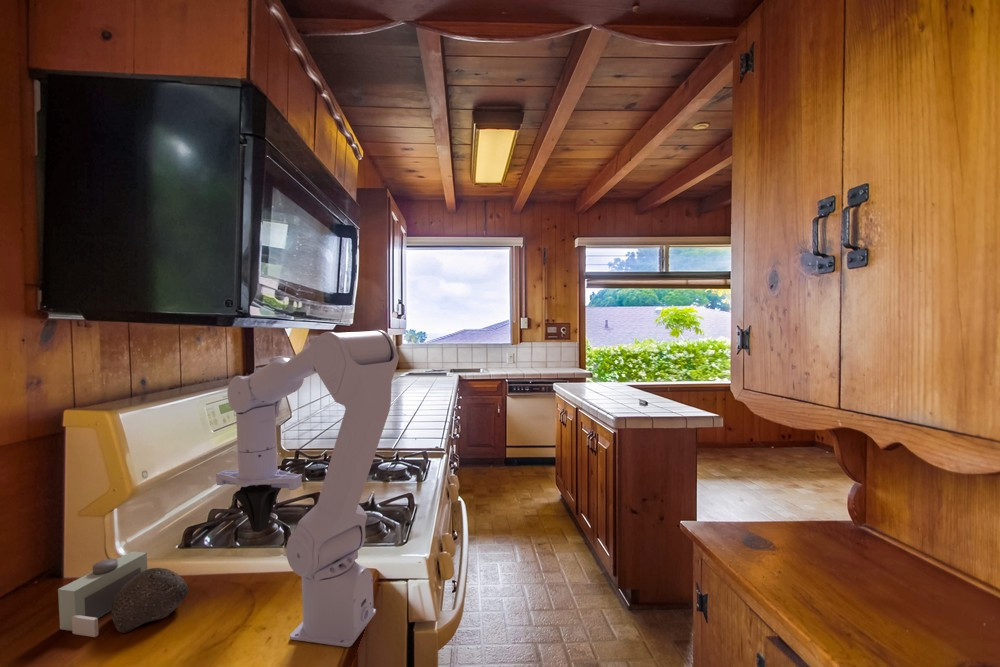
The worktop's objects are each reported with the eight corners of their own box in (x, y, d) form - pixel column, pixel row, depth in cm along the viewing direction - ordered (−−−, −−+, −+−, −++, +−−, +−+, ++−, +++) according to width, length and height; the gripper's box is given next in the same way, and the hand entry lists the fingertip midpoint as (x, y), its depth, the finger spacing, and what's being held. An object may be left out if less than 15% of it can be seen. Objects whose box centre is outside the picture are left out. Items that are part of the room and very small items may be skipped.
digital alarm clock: (170, 588, 79) (168, 547, 79) (94, 637, 67) (92, 589, 67) (136, 584, 80) (134, 544, 80) (56, 631, 68) (53, 584, 68)
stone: (105, 647, 70) (94, 629, 64) (123, 586, 76) (114, 563, 70) (182, 637, 75) (179, 619, 68) (194, 580, 80) (192, 558, 74)
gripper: (199, 452, 74) (203, 536, 75) (280, 456, 72) (283, 544, 72) (233, 441, 81) (236, 518, 82) (308, 444, 78) (310, 524, 79)
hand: (260, 529), depth 77 cm, fingers closed
